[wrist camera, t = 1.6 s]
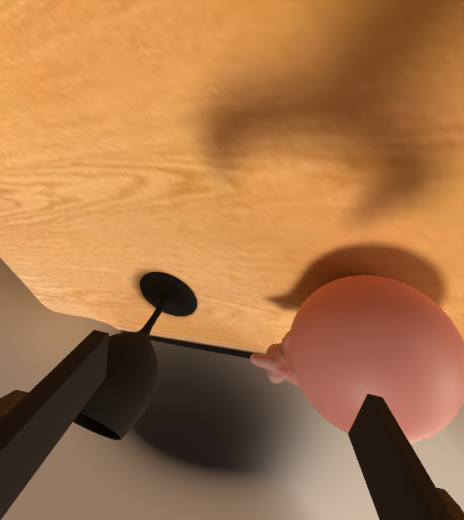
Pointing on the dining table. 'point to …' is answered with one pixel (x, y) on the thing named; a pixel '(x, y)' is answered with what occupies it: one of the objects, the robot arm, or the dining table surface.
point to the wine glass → (134, 363)
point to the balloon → (373, 354)
